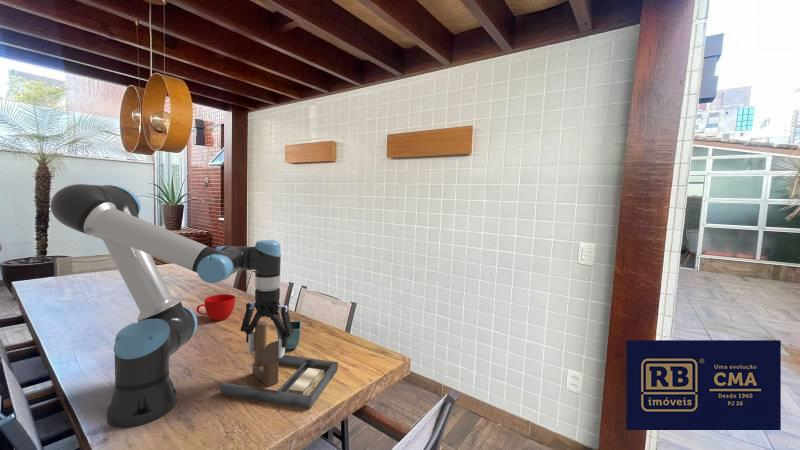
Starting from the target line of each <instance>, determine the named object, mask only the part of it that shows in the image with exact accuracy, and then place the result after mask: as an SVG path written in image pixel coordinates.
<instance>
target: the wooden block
mask: <svg viewBox="0 0 800 450" xmlns="http://www.w3.org/2000/svg"><path fill="white" fill-rule="evenodd" d="M267 325H268V323H267V321H265V320H259V322H258V323H257V324H256V325H255V328H254V332H255V351H254V363H252V375H253V376H255V377H256V378H257V379H258V380H259V381H261V382H262V383H263V384H265V386H267V387H270V386H273V385H275V384H277V383H279V364H278V363H279V362H278V361H279V358H278V355H279V341H278V340H276V341H272V342H269V343H267V336H268V335H267V333H268V332H267V330H268V329H267V328H268V326H267Z"/></svg>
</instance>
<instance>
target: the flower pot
mask: <svg viewBox="0 0 800 450" xmlns="http://www.w3.org/2000/svg"><path fill="white" fill-rule="evenodd" d="M291 325H292V329H293V334H292V335H291V336H290V337H288V338H287V346H286V347H285V351H286V350H294V349H297V347H298V345H299V342H300V338H301V332H302V331H301V328H302V321H301V320H295V321H292V320H291ZM276 333H277V341H279V338H280V337H281V336H280V334H279V332H278V330H277V329H276Z"/></svg>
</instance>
